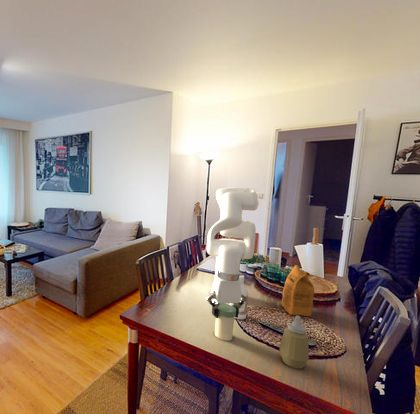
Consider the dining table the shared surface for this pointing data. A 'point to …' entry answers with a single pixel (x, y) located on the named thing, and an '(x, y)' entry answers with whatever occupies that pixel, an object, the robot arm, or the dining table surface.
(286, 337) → the squeeze bottle
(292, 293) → the coffee package
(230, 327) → the jar
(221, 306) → the lid
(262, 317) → the dining table surface
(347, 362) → the dining table surface
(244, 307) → the bath foam
